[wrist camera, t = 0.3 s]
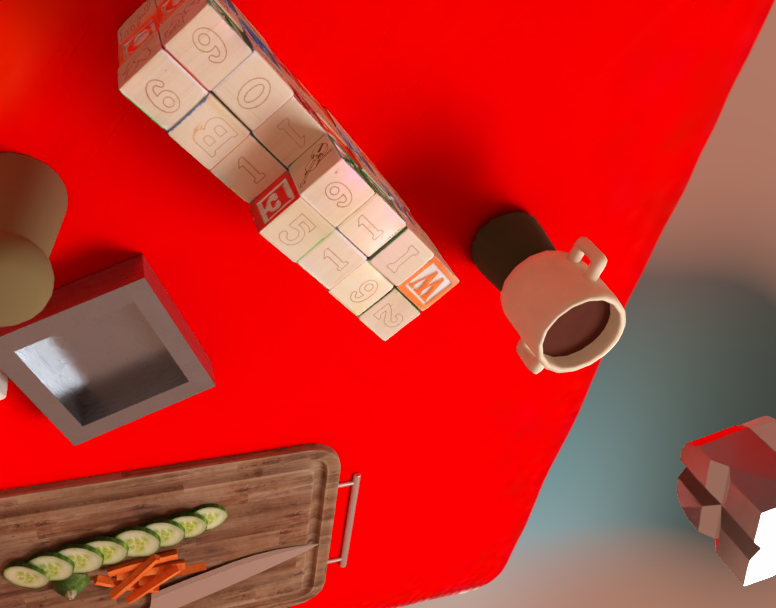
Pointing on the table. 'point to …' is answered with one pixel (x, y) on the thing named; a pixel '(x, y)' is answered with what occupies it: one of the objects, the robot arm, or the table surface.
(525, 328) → the character mug
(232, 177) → the stack of blocks
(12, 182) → the cork
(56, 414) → the grey square shallow box
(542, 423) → the table surface
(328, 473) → the chopping board
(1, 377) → the tray
